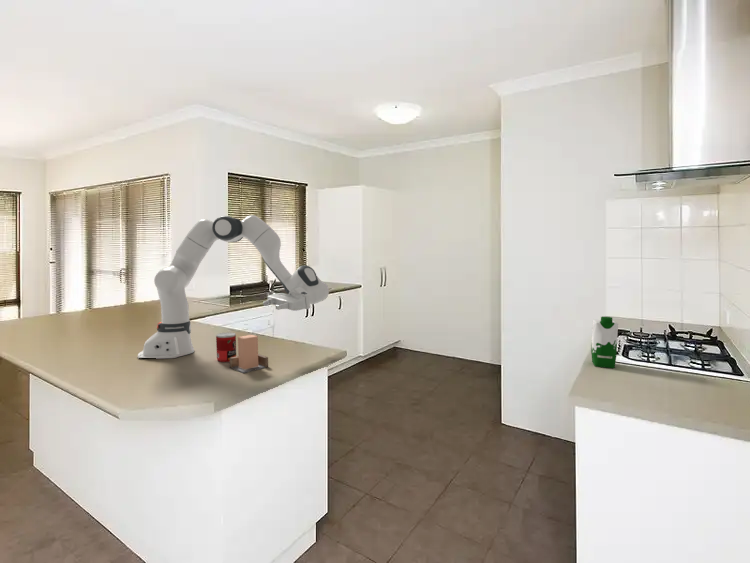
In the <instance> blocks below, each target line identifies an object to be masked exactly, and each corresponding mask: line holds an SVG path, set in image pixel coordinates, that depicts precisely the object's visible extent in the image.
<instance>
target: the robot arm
mask: <svg viewBox="0 0 750 563" xmlns="http://www.w3.org/2000/svg"><path fill="white" fill-rule="evenodd" d="M242 239H246V240H248V241H249V242H250V244H252V245H253V246H254V247H255V248H256V250H257V251H258V252H259V253H260V255H261V257H262V260H263V261H264V263H265V265H266V266H267V267H268V269H269V270H270V271H271V273H272V274H273V275H274V276H275V277H276V279H277V280H278V281H279V282H280V283H281V285H282V287H283V289H284V290H285V292H279V293H273V294H269V295H267V299H266V300H264V301H263V302H262V304H263V306H264V307H267V306H269V305H273V306H275V310H277V311H279V310H291V311H292V312H293V311H296V312H297V311H301V310H309V309H310V308H311V305H315V304H318V303H320V302H323V301H325V300H326V299H327V298H329V297H328V296H329V293H330V289H329V286H328V284H327V283H326V282H324V281H322V280H321V279H320V278H319V277H318V275H317V273H316V271H315V270H314V269H313V268H312V267H311V266H309V265H306V264H305V265H300V266H299V267H298V268H297V269H296V270H295V271H294V272H293V274H291V272H290V271H289V270H288V269H287V267H285V265H284V264H283V263H282V261H281V258H280V253H281V252H280V250H281V247H282V246H281V244H282V242H281V238H280V236H279V235H278V233H277V232H276V231H275V230H274V229H273V227H271V226H270V225H269V224H267V223H266V222H265V221H264V220H263V219H261V218H260V217H258V216H257V215H254V214H253V215H252V214H251V215H247V216H246V217H245V218H244V219H242V220H240V219H239V218H237V217H236V218H235V217H232V216H227V215H221V216H219V217H217V218H216V219H215V220H214V221H212V220H210V219H207V218H206V219H205V218H202V219H200V220H198V221H197V222H196V223H195V224H194V225H193V226H192V227H191V228H190V230H189V231H188V233H187V234H186V235H185V237H184V238H183V240H182V241H181V243H180V245H179V246H178V247H177V249H176V252H175V254H174V257H173V259H172V261H171V263H170V265H169V266H168V267H164V268H162V269H160V270H159V271H158V272H157V273H156V275H155V276H154V281H153V282H154V286H155V287H156V290H157V294H158V299H159V303H160V312H161V321H160V322H158V323H157V324H156V329H157V331H156V332H155V333H153V334H152V335H151V336H150V337H149V338H148V339H147V340H145V342H144V345H143V349H142V351H140V352H138V353H137V359H139V358H156V359H176V358H179V357H182V356H186V355H190V354H193V353H194V352H195V349H194V346H193V341H192V337H191V334H192V333H191V332H192V325H191V321H190V312H189V311H190V309H189V301H188V298H187V295H186V290H185V288H187V287H188V286H189V284H190V283H191V281H192V280H193V278H194V277H195V276H194V275H195V274H196V272H197V270H198V268H199V266H200V265H201V263H202V261H203V260H204V259H205V257H206V255H207V253H208V252H209V251H210V249H211V247H212V246H213V245H214V243H215V242H216V241H217V240H220V241H223V242H226V243H237V242H239V241H241V240H242Z"/></svg>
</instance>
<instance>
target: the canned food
mask: <svg viewBox="0 0 750 563" xmlns="http://www.w3.org/2000/svg"><path fill="white" fill-rule="evenodd" d="M236 337H237V335H236V333H235V332H230V331H229V332H228V331H227V332H220V333H217V334H216V335H215V342H216V345H215V346H216V359H217V361H218V362H221V363H228V362H229V363H230V358H231V357H236V356H237V338H236Z"/></svg>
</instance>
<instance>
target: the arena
mask: <svg viewBox="0 0 750 563" xmlns="http://www.w3.org/2000/svg"><path fill="white" fill-rule="evenodd" d="M229 368H230V369H232V370H235V371H237V372H240V373H242V374H245V373H249V372H254V371H257V370H261V369H265V368H269V357H268V356H266V355H263V354H260V353H258V366H256V367H252V368H248V369H243V368H240V367H239V357H238V355H236V357H231V358H230V362H229Z"/></svg>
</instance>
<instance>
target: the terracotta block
mask: <svg viewBox="0 0 750 563" xmlns="http://www.w3.org/2000/svg"><path fill="white" fill-rule="evenodd" d="M258 339H259V338H258V335H255V334H246V335H242V336H238V337H237V347H238V348H237V350H238V351H237V352H238V354H237V356H238V357H239V367H240V368H243V369H248V368H252V367H256V366H258V354H259V343H258V342H259V340H258Z"/></svg>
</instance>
